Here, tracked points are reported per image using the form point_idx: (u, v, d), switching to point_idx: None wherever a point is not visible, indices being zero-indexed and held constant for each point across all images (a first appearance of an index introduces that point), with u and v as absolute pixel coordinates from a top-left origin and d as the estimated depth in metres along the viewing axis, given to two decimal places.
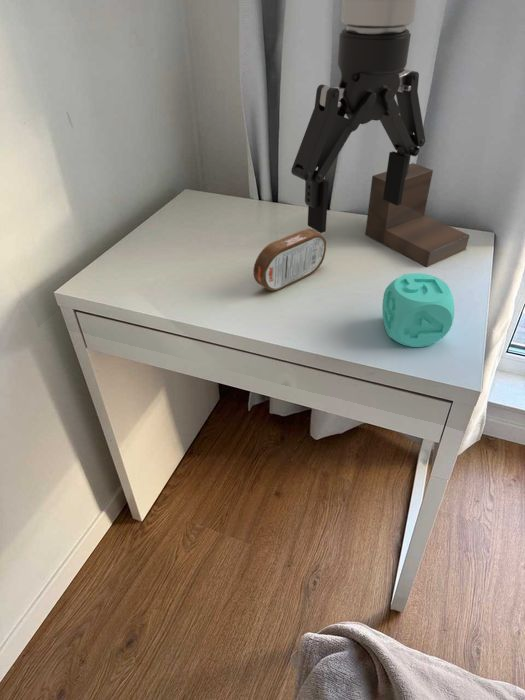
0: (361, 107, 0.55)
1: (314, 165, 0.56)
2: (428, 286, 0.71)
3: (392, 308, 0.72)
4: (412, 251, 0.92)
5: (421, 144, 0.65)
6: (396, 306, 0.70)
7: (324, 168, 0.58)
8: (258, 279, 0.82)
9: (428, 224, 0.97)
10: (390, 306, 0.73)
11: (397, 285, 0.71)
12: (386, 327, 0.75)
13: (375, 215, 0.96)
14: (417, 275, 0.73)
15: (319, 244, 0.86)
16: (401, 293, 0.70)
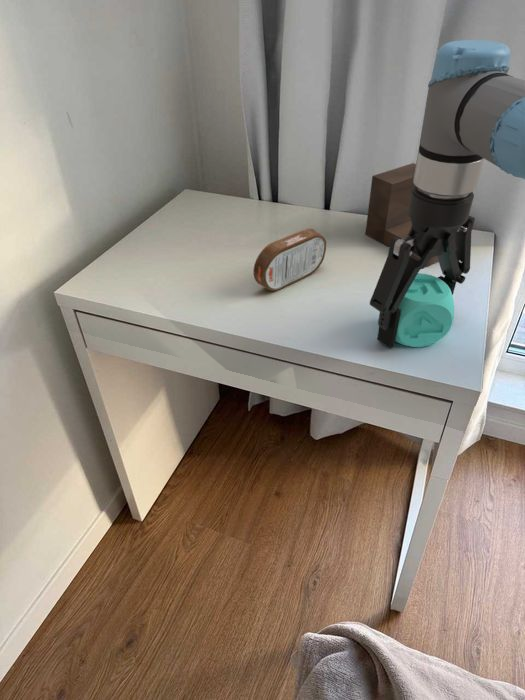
0: (428, 251, 0.64)
1: (390, 301, 0.66)
2: (428, 286, 0.71)
3: None
4: None
5: (466, 272, 0.73)
6: None
7: (398, 301, 0.67)
8: (258, 279, 0.82)
9: None
10: None
11: None
12: None
13: (375, 215, 0.96)
14: (417, 275, 0.73)
15: (319, 244, 0.86)
16: None
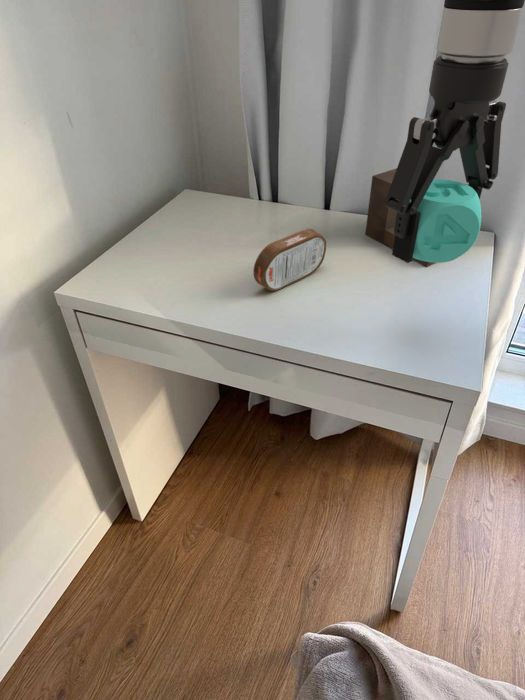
0: (453, 135, 0.55)
1: (409, 197, 0.57)
2: (451, 189, 0.62)
3: None
4: None
5: (494, 177, 0.64)
6: None
7: (418, 200, 0.58)
8: (258, 279, 0.82)
9: None
10: None
11: None
12: None
13: (375, 215, 0.96)
14: (437, 181, 0.64)
15: (319, 244, 0.86)
16: None
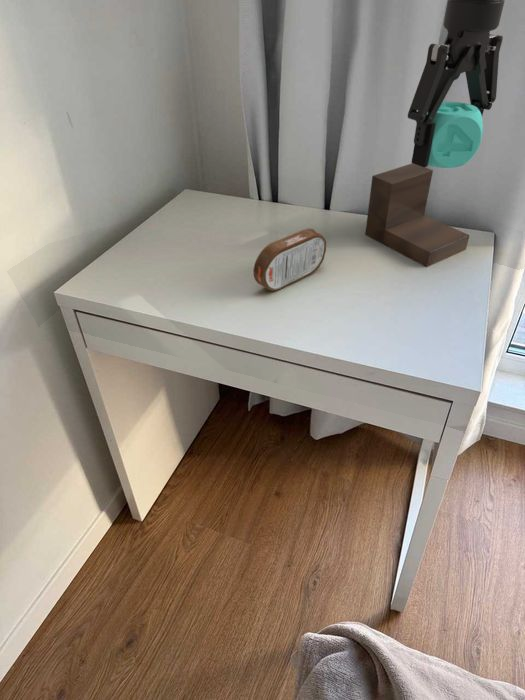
0: (462, 58, 0.71)
1: (427, 108, 0.73)
2: (459, 107, 0.78)
3: None
4: (412, 251, 0.92)
5: (493, 100, 0.81)
6: None
7: (433, 112, 0.74)
8: (258, 279, 0.82)
9: (428, 224, 0.97)
10: None
11: None
12: None
13: (375, 215, 0.96)
14: (448, 102, 0.80)
15: (319, 244, 0.86)
16: None
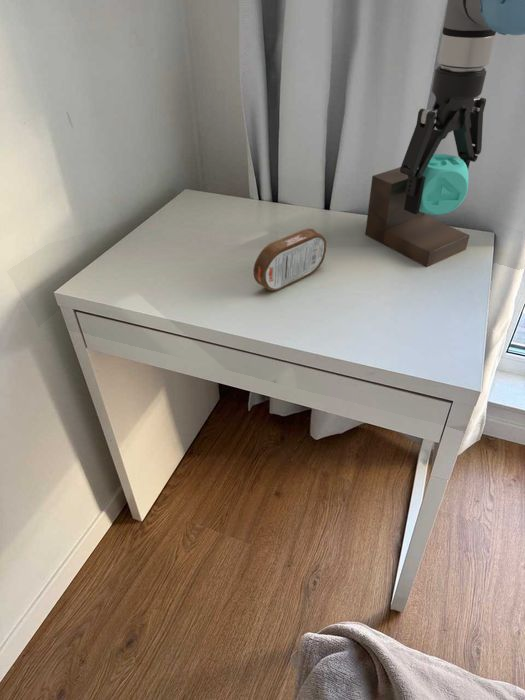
0: (448, 121, 0.79)
1: (417, 165, 0.81)
2: (447, 161, 0.86)
3: None
4: (412, 251, 0.92)
5: (478, 153, 0.88)
6: None
7: (423, 167, 0.82)
8: (258, 279, 0.82)
9: (428, 224, 0.97)
10: None
11: None
12: None
13: (375, 215, 0.96)
14: (437, 155, 0.88)
15: (319, 244, 0.86)
16: None
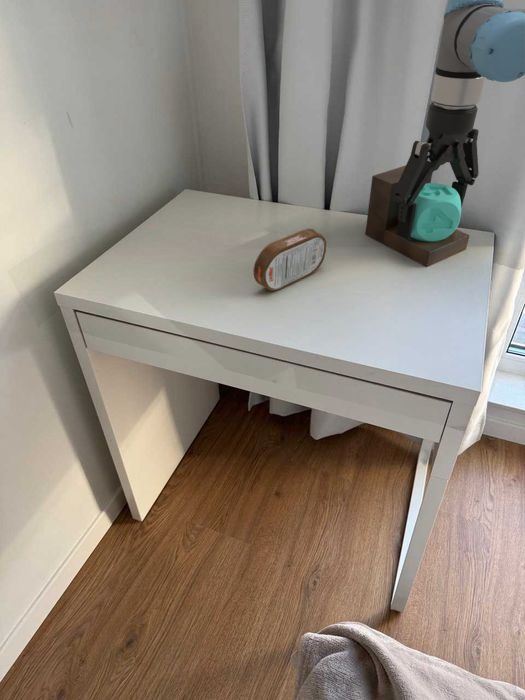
0: (442, 155, 0.82)
1: (409, 194, 0.83)
2: (440, 191, 0.89)
3: None
4: (412, 251, 0.92)
5: (475, 176, 0.92)
6: None
7: (414, 195, 0.84)
8: (258, 279, 0.82)
9: None
10: None
11: None
12: None
13: (375, 215, 0.96)
14: (431, 184, 0.91)
15: (319, 244, 0.86)
16: (419, 195, 0.88)
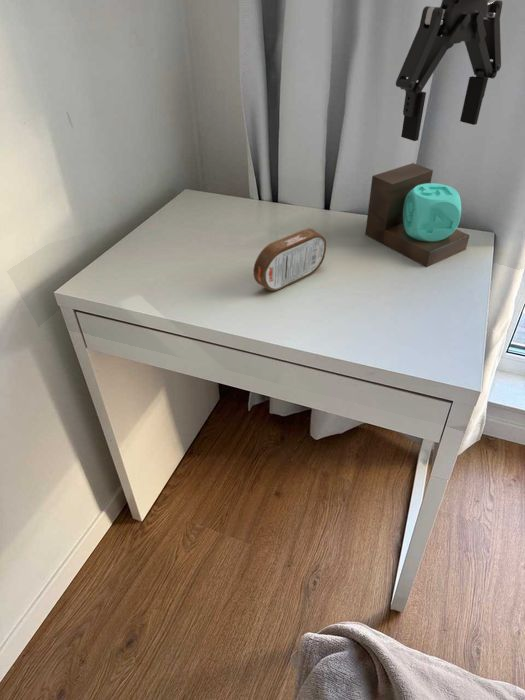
0: (458, 26, 0.67)
1: (417, 76, 0.68)
2: (440, 191, 0.89)
3: (411, 210, 0.90)
4: (412, 251, 0.92)
5: (497, 69, 0.76)
6: (415, 205, 0.88)
7: (424, 80, 0.69)
8: (258, 279, 0.82)
9: None
10: (410, 209, 0.91)
11: (416, 190, 0.89)
12: (406, 228, 0.94)
13: (375, 215, 0.96)
14: (431, 184, 0.91)
15: (319, 244, 0.86)
16: (419, 195, 0.88)
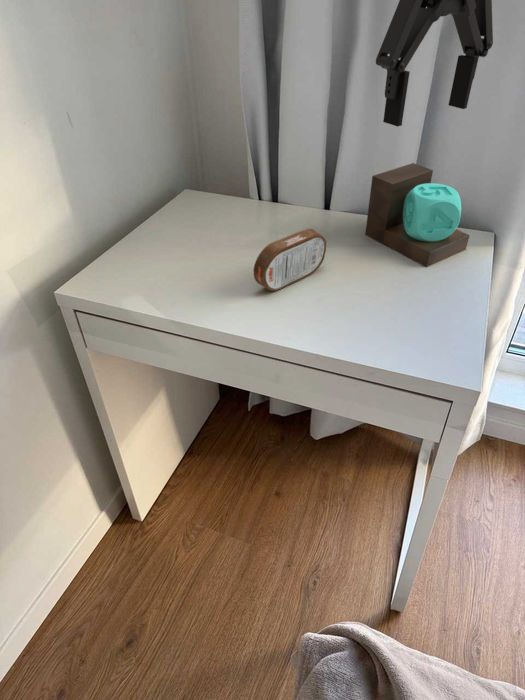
0: None
1: (399, 52, 0.61)
2: (440, 191, 0.89)
3: (411, 210, 0.90)
4: (412, 251, 0.92)
5: (489, 46, 0.69)
6: (415, 205, 0.88)
7: (407, 57, 0.62)
8: (258, 279, 0.82)
9: None
10: (410, 209, 0.91)
11: (416, 190, 0.89)
12: (406, 228, 0.94)
13: (375, 215, 0.96)
14: (431, 184, 0.91)
15: (319, 244, 0.86)
16: (419, 195, 0.88)
